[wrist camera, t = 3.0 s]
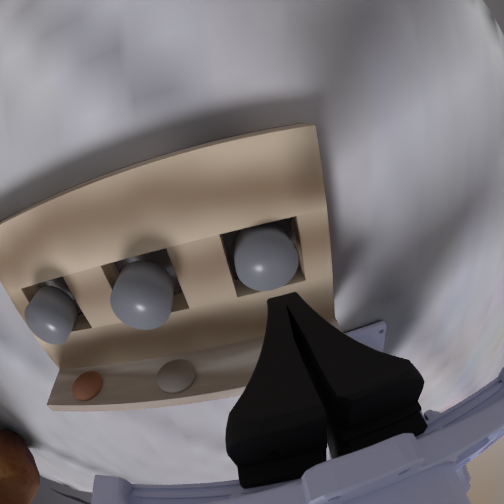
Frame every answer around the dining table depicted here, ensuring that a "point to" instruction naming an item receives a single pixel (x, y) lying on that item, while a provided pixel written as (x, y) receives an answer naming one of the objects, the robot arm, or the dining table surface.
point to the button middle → (143, 295)
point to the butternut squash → (17, 470)
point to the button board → (184, 263)
